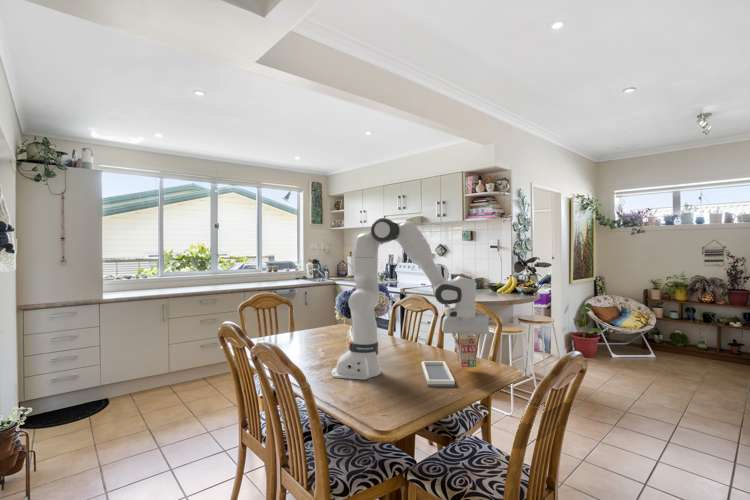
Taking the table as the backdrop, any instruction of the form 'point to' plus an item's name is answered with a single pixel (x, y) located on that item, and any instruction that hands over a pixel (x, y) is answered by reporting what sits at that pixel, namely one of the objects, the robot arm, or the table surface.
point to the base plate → (437, 374)
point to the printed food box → (466, 349)
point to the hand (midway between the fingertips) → (465, 343)
